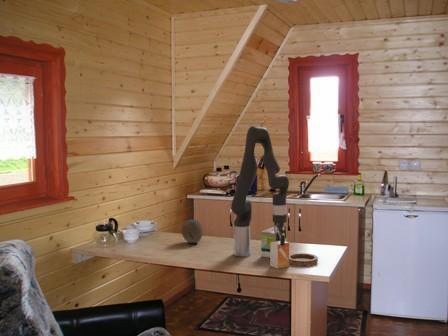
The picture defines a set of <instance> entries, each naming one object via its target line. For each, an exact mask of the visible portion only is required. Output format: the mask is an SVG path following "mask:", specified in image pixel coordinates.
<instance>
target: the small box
mask: <svg viewBox="0 0 448 336" xmlns="http://www.w3.org/2000/svg"><path fill="white" fill-rule="evenodd" d="M289 255H290V242H289V241H287V242H286V241H285V245H284V246H281V245H280V241H275V242H270V262H269V263H270V264H269V266H270V267H271V268H274V269H282V268H287V267H290V264H289Z"/></svg>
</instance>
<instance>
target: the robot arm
mask: <svg viewBox="0 0 448 336" xmlns="http://www.w3.org/2000/svg"><path fill="white" fill-rule="evenodd" d="M246 132H247V133H246V137H245V145H244V153H243V158H242V162H241V167H240V171H239V175H238V180H237V184H236V189H235V193H234V195H233V198H232V202H231V205H230V206H231V211H232V213H233V214H234V215H236V218H235V219H234V220H233V255H234V256H235V257H240V258H241V257H249V256H251V222H252V207H253V206H252V202H251V200H250V199H249V198H248V194H249V191H250V189H251V187H252V186H253V184H254V182H255V180H256V177H257V172H258V169H259V167H258V162H257V159H256V156H255V148H256V144H259V145H261V146H262V148H263V156H262V163H263V165H264V167H265V170H266V173H267V180H268V185H269V187H270V188H271V189H272V190H278V192H276V193H273V194H272V209H271V210H272V211H271V212H272V213H271V215H272V223H273V227H274V232H275V235H276V241H280V245H281V246H284V245H285V238H286V229H287V227H286V226H285V225H284V224H285V223H287V221H288V213H287V212H288V210H287V209H288V208H287V193H288V189H289V186H290V180H289V177H288V176H287V175H285V174H281V175H279V172H280V171H281V168H280V165H279V163H278V160H277V158H276V156H275V153H274V149H273V145H272V141H271V137H270V133H269V130H268V129H267V128H266V127H264V126H263V127H262V126H254V125H253V126H250V127H249V128H248V130H247V131H246ZM282 234H283V236H282Z"/></svg>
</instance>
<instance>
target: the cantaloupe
mask: <svg viewBox="0 0 448 336" xmlns="http://www.w3.org/2000/svg"><path fill="white" fill-rule="evenodd" d="M181 226H182V227H181V235H182V237H183V239H184V241H186V242H187V243H189V244H198V243H200V241H201V240H202V237H203V233H204V229H203V226H202V224H201V222H200V221H199V220H196V219H189V220H186V221H185V222H183V224H182V225H181Z"/></svg>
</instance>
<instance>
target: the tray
mask: <svg viewBox="0 0 448 336" xmlns="http://www.w3.org/2000/svg"><path fill="white" fill-rule="evenodd" d="M318 259H319V257H318V256H317V255H315V254H312V253H307V252H306V253H305V252H300V253H299V252H297V253H290V254H289V265H291V266H296V267H312V266H316V265H317V264H318Z"/></svg>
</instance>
